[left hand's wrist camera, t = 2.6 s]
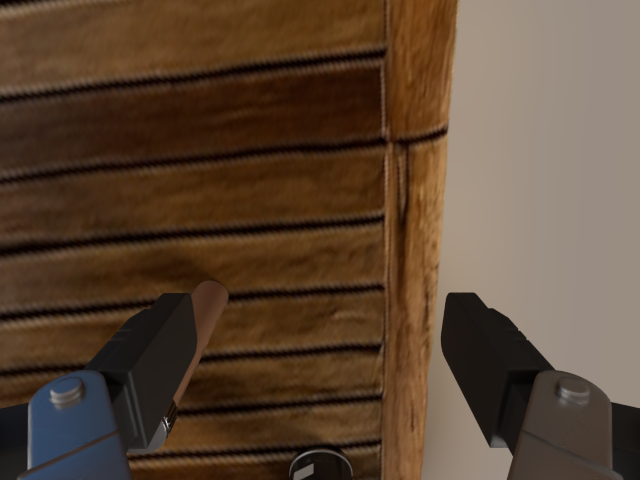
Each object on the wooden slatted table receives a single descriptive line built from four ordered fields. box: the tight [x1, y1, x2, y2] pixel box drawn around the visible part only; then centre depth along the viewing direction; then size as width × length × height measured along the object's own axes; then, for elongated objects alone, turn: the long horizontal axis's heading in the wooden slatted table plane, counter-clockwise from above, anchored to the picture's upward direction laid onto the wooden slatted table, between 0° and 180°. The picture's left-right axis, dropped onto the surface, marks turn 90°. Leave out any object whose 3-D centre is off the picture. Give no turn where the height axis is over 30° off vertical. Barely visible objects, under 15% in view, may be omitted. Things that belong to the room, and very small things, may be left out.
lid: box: [127, 399, 178, 454], centre depth 27 cm, size 5×5×2 cm
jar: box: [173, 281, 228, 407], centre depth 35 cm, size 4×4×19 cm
